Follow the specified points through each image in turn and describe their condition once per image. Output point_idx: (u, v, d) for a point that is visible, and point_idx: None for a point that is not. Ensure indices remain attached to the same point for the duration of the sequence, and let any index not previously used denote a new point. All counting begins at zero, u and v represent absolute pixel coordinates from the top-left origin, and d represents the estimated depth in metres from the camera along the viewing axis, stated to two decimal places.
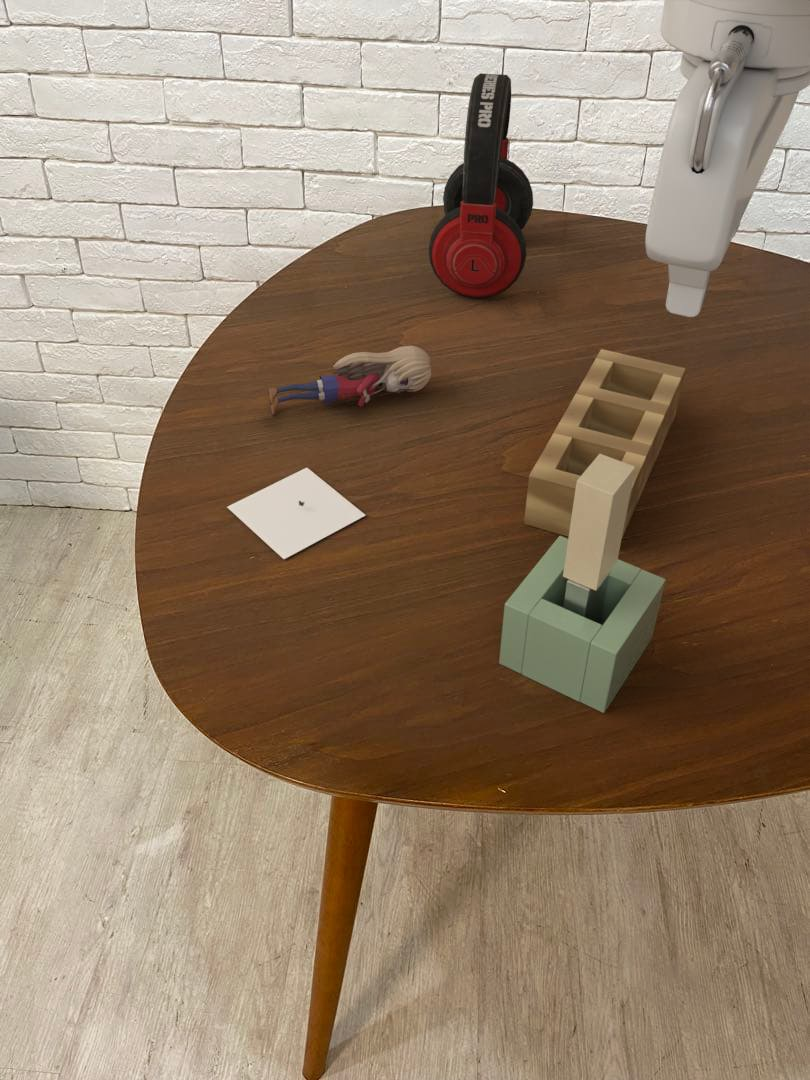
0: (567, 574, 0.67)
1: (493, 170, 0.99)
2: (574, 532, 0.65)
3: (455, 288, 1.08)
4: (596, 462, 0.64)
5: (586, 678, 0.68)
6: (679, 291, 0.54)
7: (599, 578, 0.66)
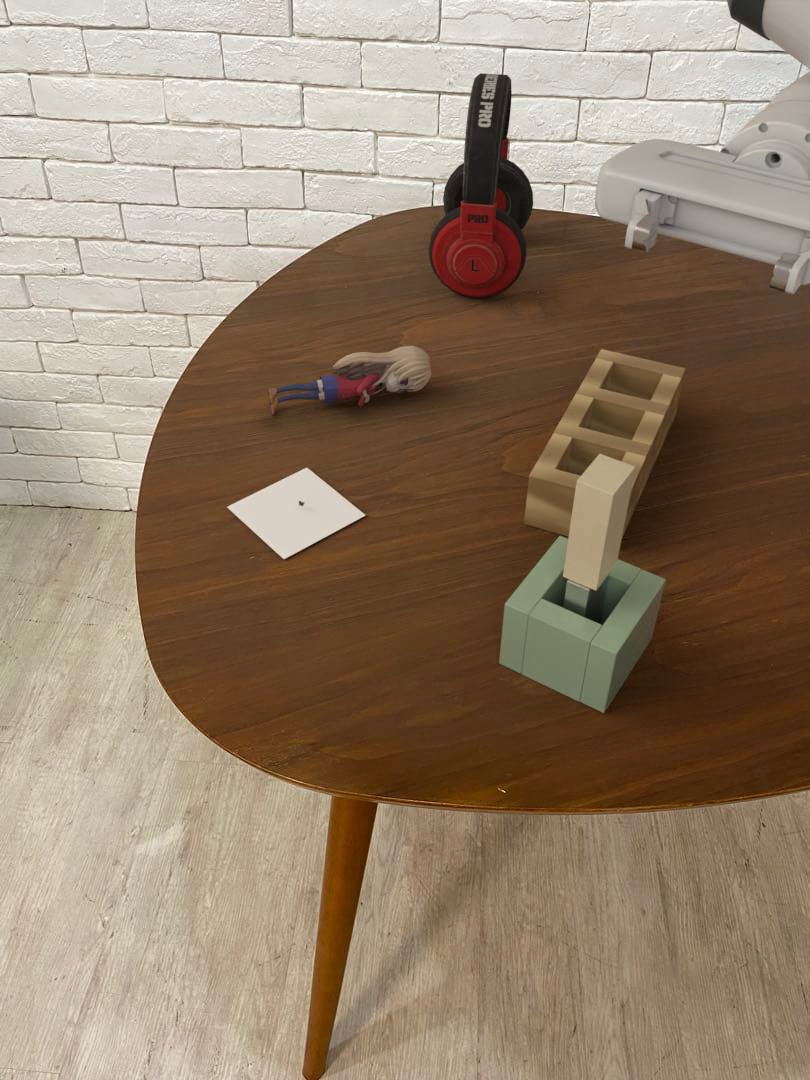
0: (567, 574, 0.67)
1: (493, 170, 0.99)
2: (574, 532, 0.65)
3: (455, 288, 1.08)
4: (596, 462, 0.64)
5: (586, 678, 0.68)
6: None
7: (599, 578, 0.66)
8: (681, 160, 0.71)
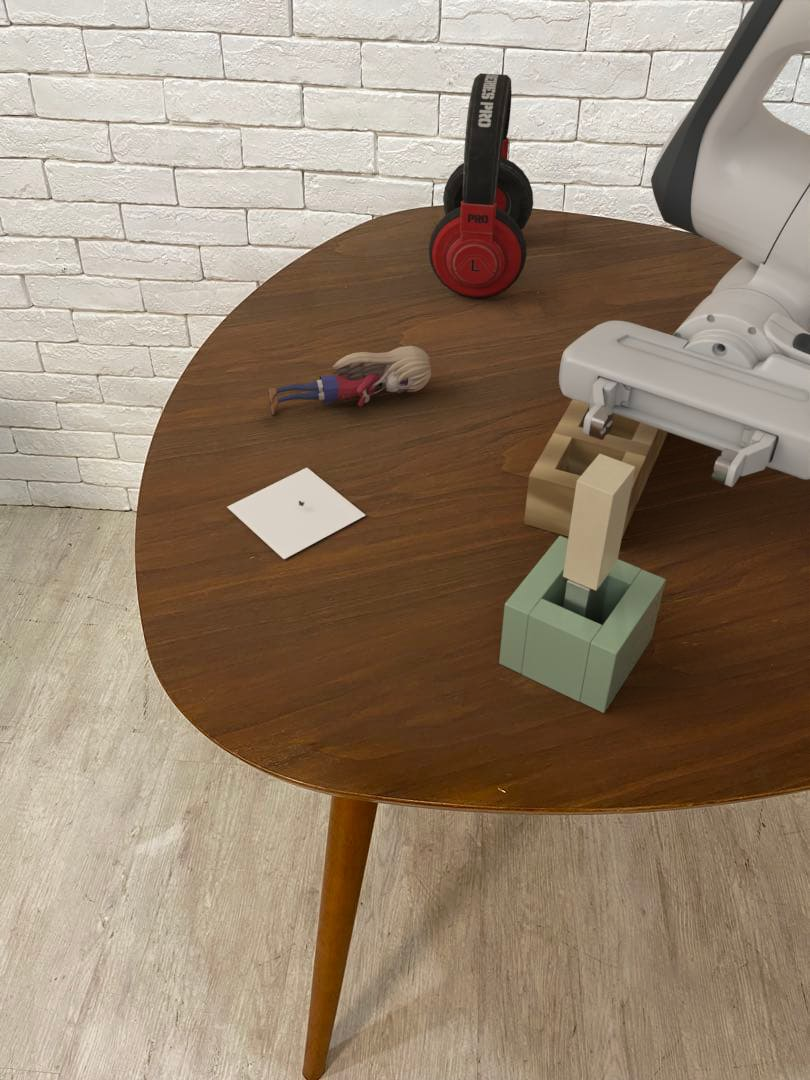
0: (567, 574, 0.67)
1: (493, 170, 0.99)
2: (574, 532, 0.65)
3: (455, 288, 1.08)
4: (596, 462, 0.64)
5: (586, 678, 0.68)
6: None
7: (599, 578, 0.66)
8: (637, 345, 0.78)
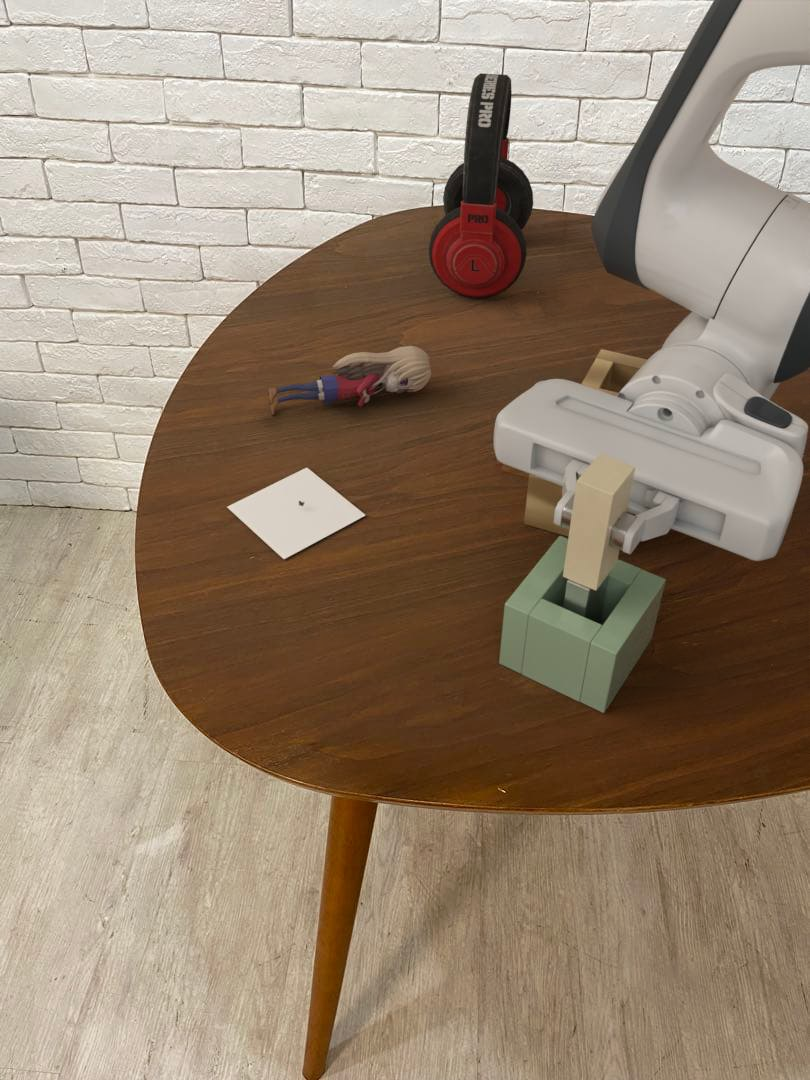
0: (567, 574, 0.67)
1: (493, 170, 0.99)
2: (574, 532, 0.65)
3: (455, 288, 1.08)
4: (596, 462, 0.64)
5: (586, 678, 0.68)
6: None
7: (599, 578, 0.66)
8: (577, 407, 0.72)
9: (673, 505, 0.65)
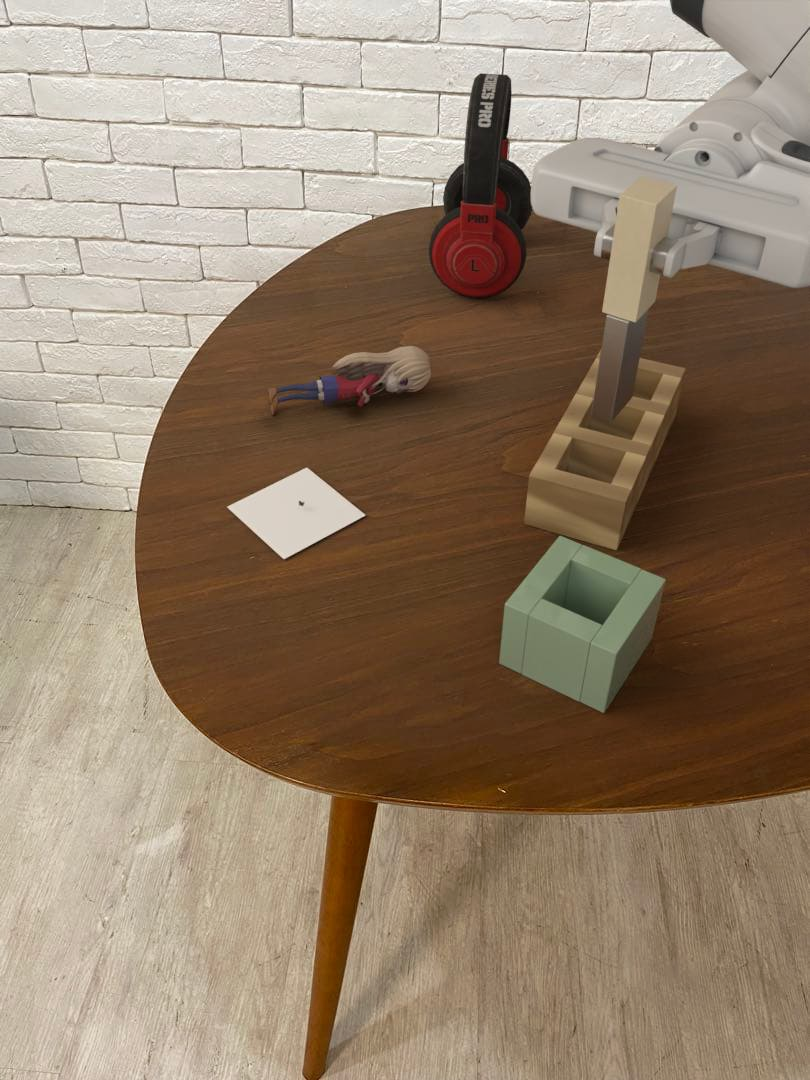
0: (606, 308, 0.68)
1: (493, 170, 0.99)
2: (616, 257, 0.65)
3: (455, 288, 1.08)
4: (638, 182, 0.64)
5: (586, 678, 0.68)
6: None
7: (639, 308, 0.67)
8: (614, 158, 0.73)
9: (713, 231, 0.66)
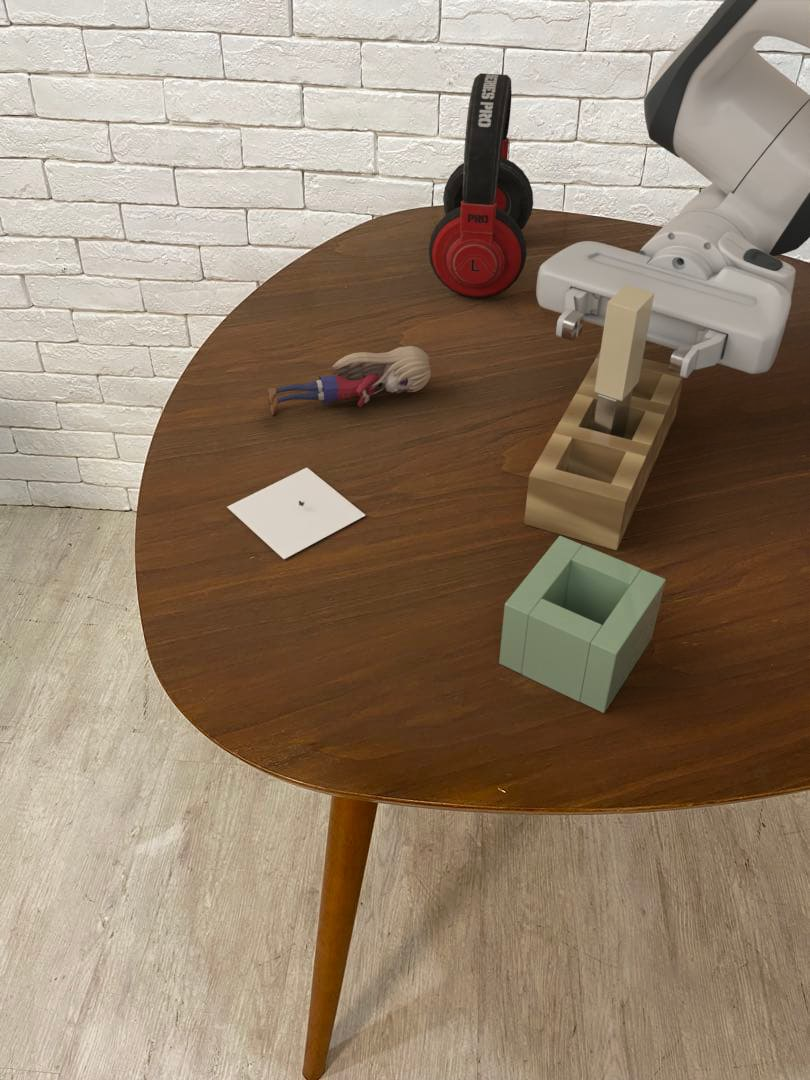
0: (598, 389, 0.83)
1: (493, 170, 0.99)
2: (605, 349, 0.80)
3: (455, 288, 1.08)
4: (623, 290, 0.79)
5: (586, 678, 0.68)
6: None
7: (624, 389, 0.82)
8: (606, 261, 0.87)
9: (721, 339, 0.79)
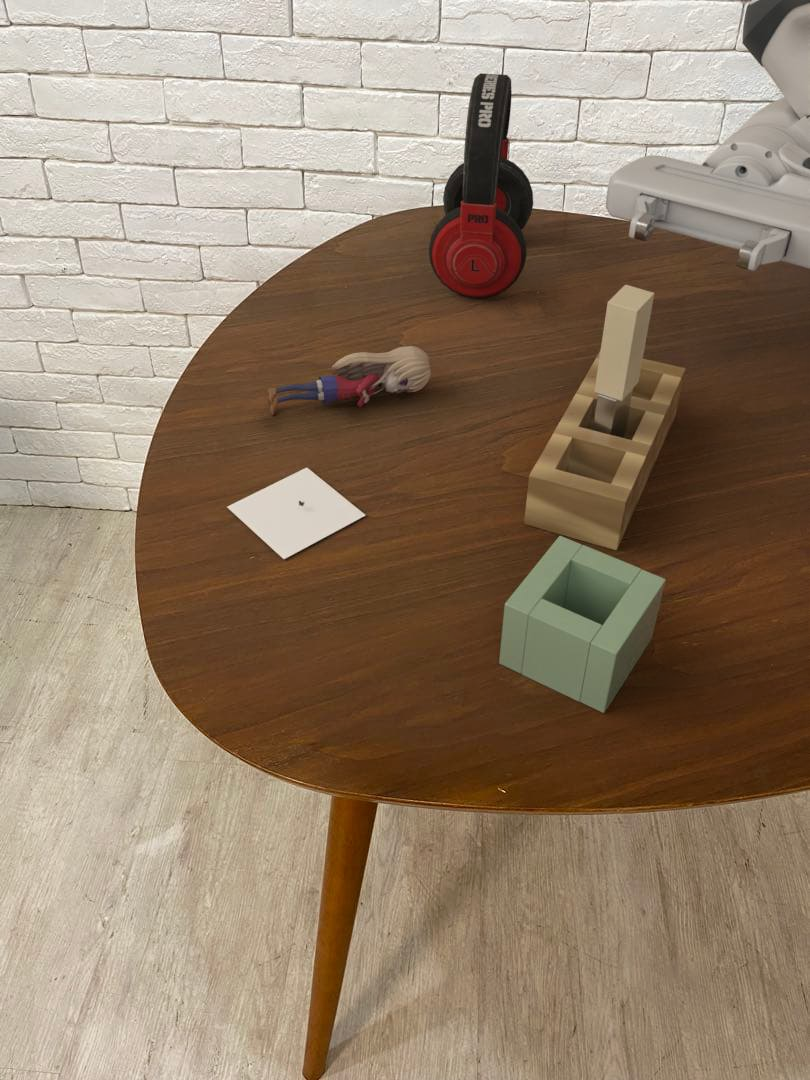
0: (598, 389, 0.83)
1: (493, 170, 0.99)
2: (605, 349, 0.80)
3: (455, 288, 1.08)
4: (623, 290, 0.79)
5: (586, 678, 0.68)
6: None
7: (624, 389, 0.82)
8: (672, 171, 0.93)
9: (786, 235, 0.85)
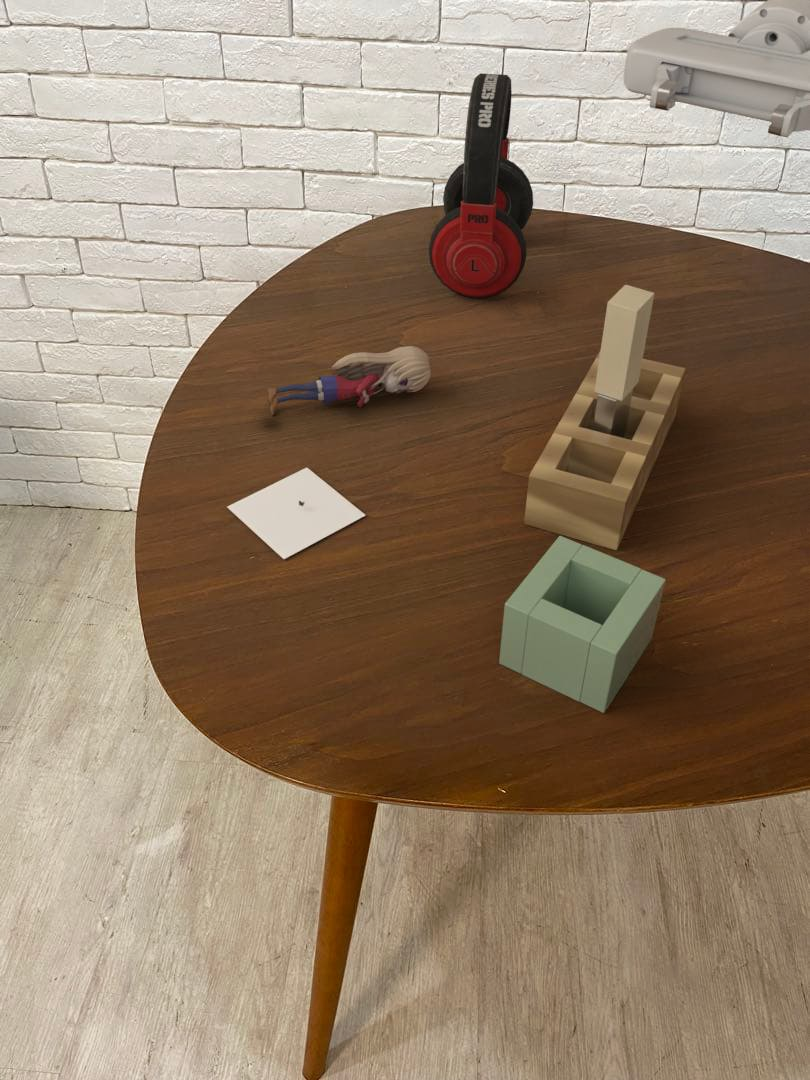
0: (598, 389, 0.83)
1: (493, 170, 0.99)
2: (605, 349, 0.80)
3: (455, 288, 1.08)
4: (623, 290, 0.79)
5: (586, 678, 0.68)
6: None
7: (624, 389, 0.82)
8: (695, 42, 0.86)
9: None
